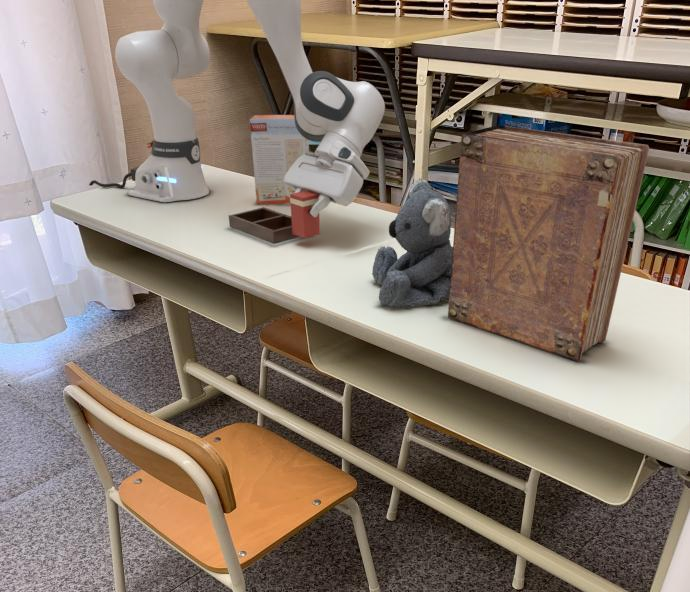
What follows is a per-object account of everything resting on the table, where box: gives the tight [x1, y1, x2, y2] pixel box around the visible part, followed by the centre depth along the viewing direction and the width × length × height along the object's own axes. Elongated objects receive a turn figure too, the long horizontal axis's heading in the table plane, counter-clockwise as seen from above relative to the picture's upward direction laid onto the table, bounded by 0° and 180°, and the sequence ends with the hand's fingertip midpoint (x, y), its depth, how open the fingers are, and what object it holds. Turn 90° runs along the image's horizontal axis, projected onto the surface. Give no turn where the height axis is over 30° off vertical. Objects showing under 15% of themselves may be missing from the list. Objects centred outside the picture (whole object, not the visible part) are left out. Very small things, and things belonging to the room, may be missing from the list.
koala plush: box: [371, 177, 453, 309], centre depth 126 cm, size 17×18×20 cm
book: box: [447, 124, 650, 363], centre depth 109 cm, size 25×9×30 cm, turn 47°
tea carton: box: [289, 191, 321, 239], centre depth 150 cm, size 4×4×8 cm
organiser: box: [228, 206, 300, 245], centre depth 162 cm, size 18×10×3 cm, turn 42°
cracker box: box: [249, 114, 310, 205], centre depth 179 cm, size 14×6×21 cm, turn 84°
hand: (302, 212), depth 150 cm, fingers closed on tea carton, 4 cm apart
